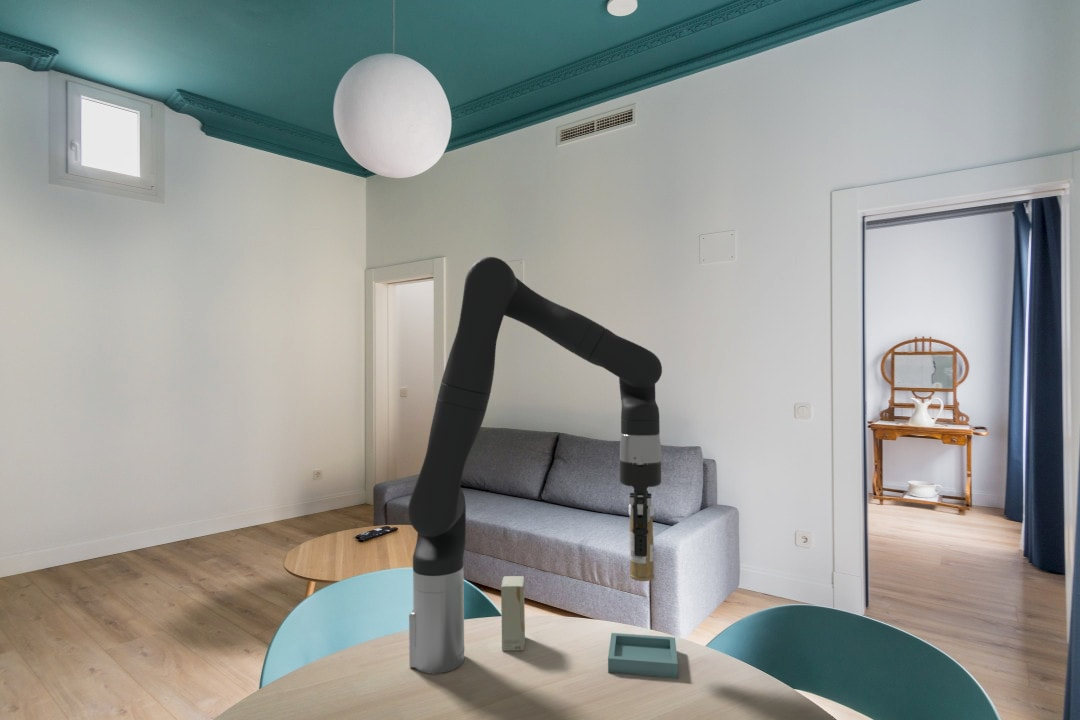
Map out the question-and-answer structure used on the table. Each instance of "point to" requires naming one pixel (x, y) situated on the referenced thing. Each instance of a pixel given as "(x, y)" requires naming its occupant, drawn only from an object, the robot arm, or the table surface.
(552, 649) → the table surface
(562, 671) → the table surface
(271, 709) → the table surface
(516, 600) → the skincare box
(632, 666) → the tray
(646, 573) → the sprinkles bottle
